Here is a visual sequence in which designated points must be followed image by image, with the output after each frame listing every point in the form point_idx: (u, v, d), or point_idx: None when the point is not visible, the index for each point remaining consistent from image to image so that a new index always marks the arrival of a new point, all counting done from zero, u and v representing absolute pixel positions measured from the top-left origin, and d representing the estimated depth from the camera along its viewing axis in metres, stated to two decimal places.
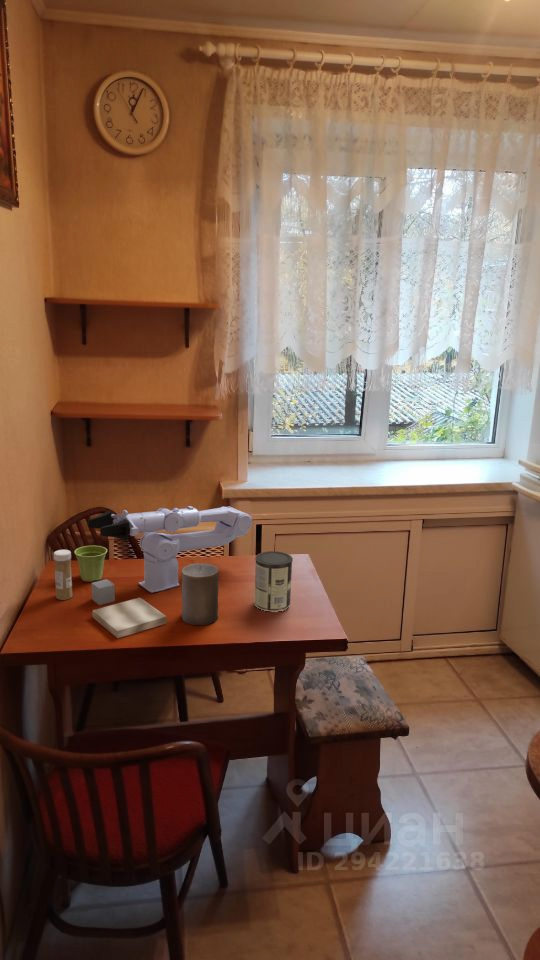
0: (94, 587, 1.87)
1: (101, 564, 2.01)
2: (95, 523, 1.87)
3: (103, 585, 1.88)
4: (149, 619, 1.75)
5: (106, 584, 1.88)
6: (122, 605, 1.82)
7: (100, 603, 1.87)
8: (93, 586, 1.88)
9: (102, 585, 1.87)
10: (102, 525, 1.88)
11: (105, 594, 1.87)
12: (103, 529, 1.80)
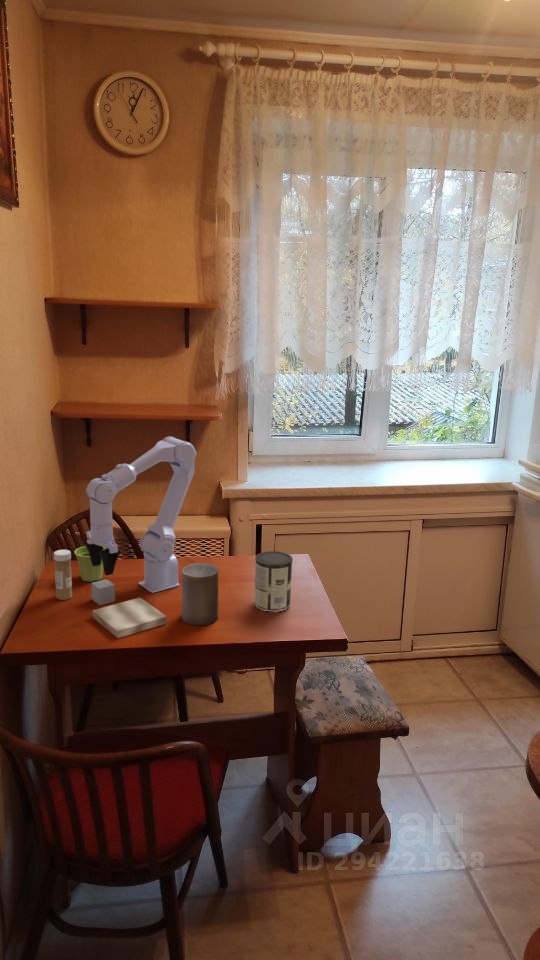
0: (94, 587, 1.87)
1: (101, 564, 2.01)
2: (96, 558, 1.89)
3: (103, 585, 1.88)
4: (149, 619, 1.75)
5: (106, 584, 1.88)
6: (122, 605, 1.82)
7: (100, 603, 1.87)
8: (93, 586, 1.88)
9: (102, 585, 1.87)
10: (99, 550, 1.90)
11: (105, 594, 1.87)
12: (107, 573, 1.84)
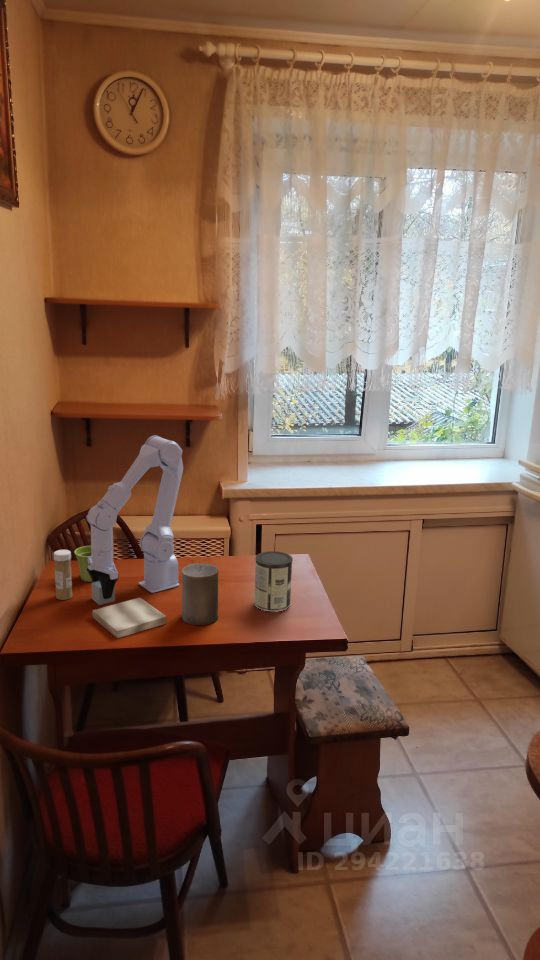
0: (94, 587, 1.87)
1: None
2: None
3: None
4: (149, 619, 1.75)
5: None
6: (122, 605, 1.82)
7: (100, 603, 1.87)
8: (93, 586, 1.88)
9: None
10: None
11: None
12: (106, 597, 1.86)
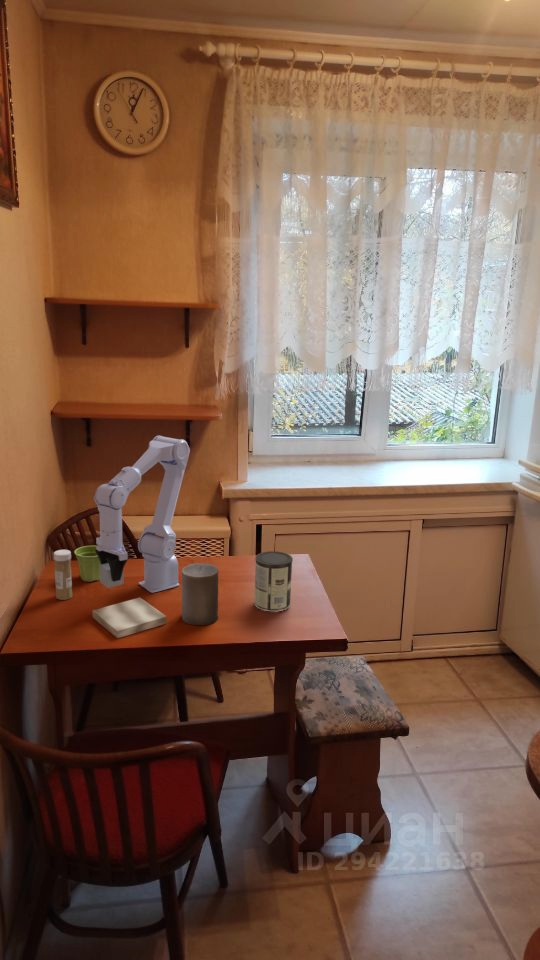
0: (103, 569, 1.81)
1: None
2: None
3: None
4: (149, 619, 1.75)
5: None
6: (122, 605, 1.82)
7: (108, 585, 1.80)
8: (101, 568, 1.82)
9: None
10: None
11: None
12: (114, 579, 1.80)
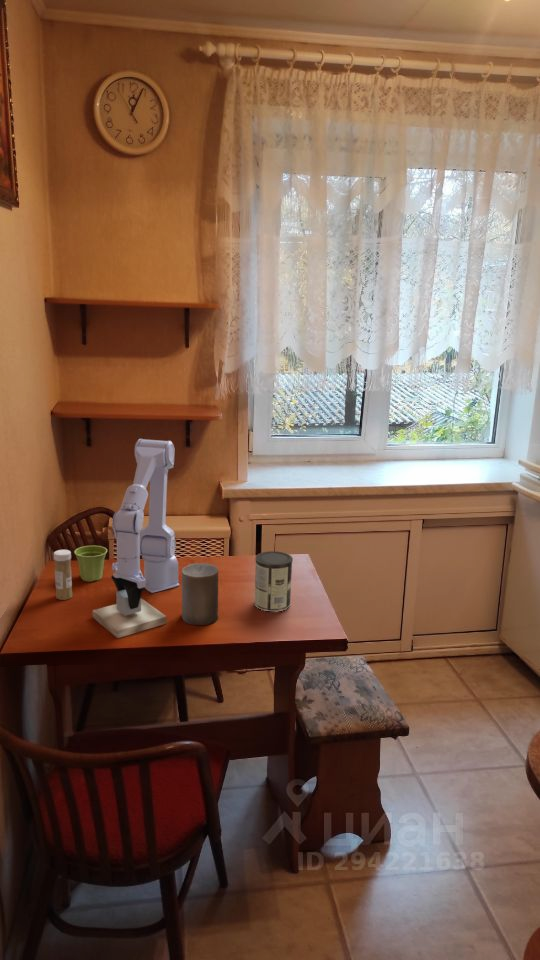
0: (119, 597, 1.75)
1: (101, 564, 2.01)
2: None
3: None
4: (149, 619, 1.75)
5: None
6: None
7: (125, 613, 1.75)
8: (118, 595, 1.76)
9: None
10: None
11: None
12: (132, 606, 1.75)
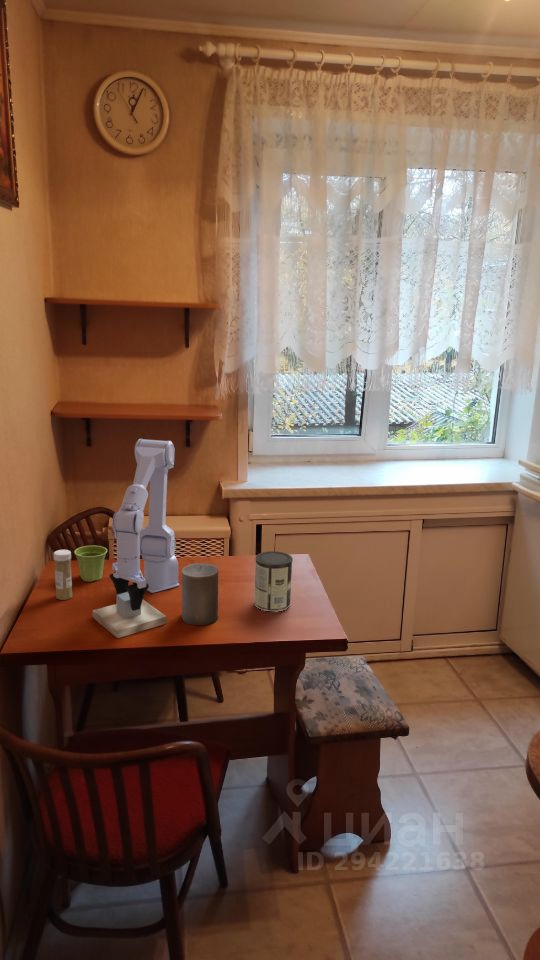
0: (119, 600, 1.76)
1: (101, 564, 2.01)
2: (122, 592, 1.79)
3: (128, 597, 1.76)
4: (149, 619, 1.75)
5: None
6: None
7: (126, 616, 1.75)
8: (118, 598, 1.76)
9: (128, 597, 1.76)
10: (125, 583, 1.79)
11: None
12: (134, 608, 1.74)
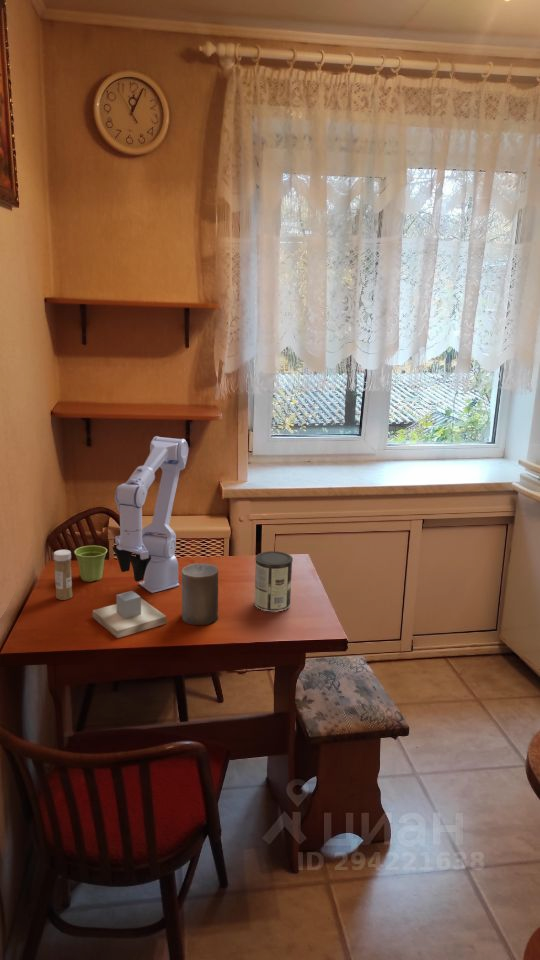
0: (119, 600, 1.76)
1: (101, 564, 2.01)
2: (125, 564, 1.86)
3: (128, 597, 1.76)
4: (149, 619, 1.75)
5: (131, 597, 1.76)
6: None
7: (126, 616, 1.75)
8: (118, 598, 1.76)
9: (128, 597, 1.76)
10: (128, 556, 1.86)
11: (131, 607, 1.75)
12: (137, 579, 1.80)
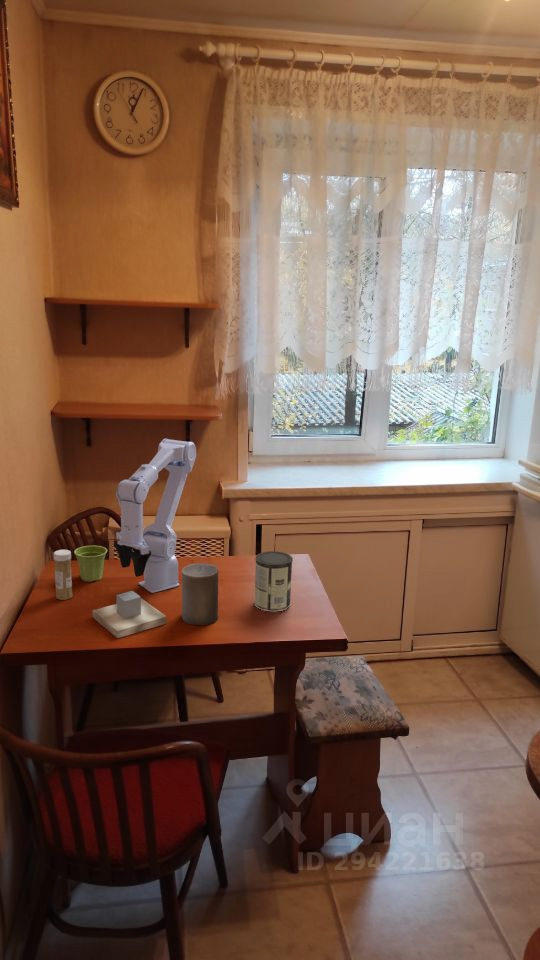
0: (119, 600, 1.76)
1: (101, 564, 2.01)
2: (126, 560, 1.88)
3: (128, 597, 1.76)
4: (149, 619, 1.75)
5: (131, 597, 1.76)
6: None
7: (126, 616, 1.75)
8: (118, 598, 1.76)
9: (128, 597, 1.76)
10: (128, 552, 1.89)
11: (131, 607, 1.75)
12: (137, 574, 1.83)
